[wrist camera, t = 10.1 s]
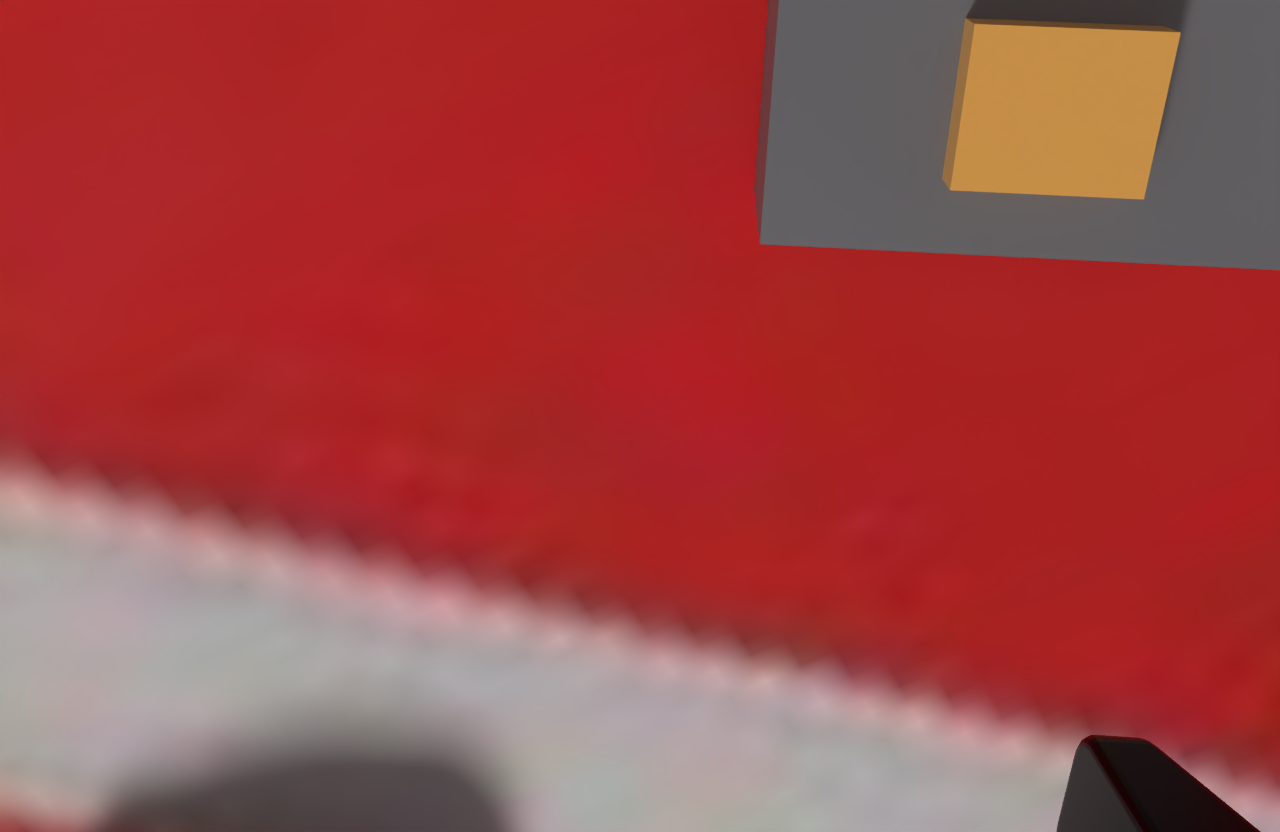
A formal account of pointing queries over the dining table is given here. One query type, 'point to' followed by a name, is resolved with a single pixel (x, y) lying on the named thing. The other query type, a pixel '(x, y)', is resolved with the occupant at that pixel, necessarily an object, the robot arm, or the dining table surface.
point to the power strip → (889, 130)
